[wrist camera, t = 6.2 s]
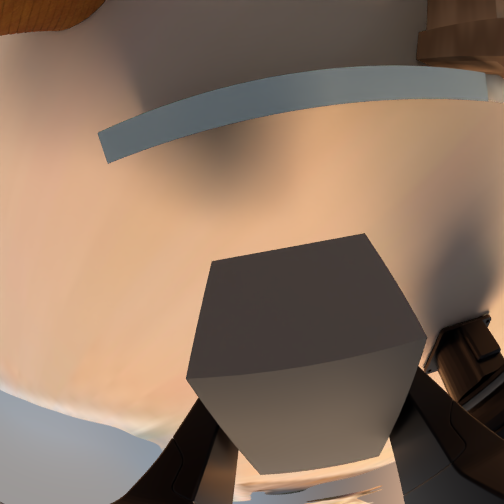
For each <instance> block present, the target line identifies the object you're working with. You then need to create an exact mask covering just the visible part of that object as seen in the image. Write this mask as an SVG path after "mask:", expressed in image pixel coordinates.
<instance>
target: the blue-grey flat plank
mask: <svg viewBox="0 0 504 504" xmlns="http://www.w3.org/2000/svg"><path fill="white" fill-rule="evenodd" d="M397 99H461V100H477V101H488V100H489V101H494V102H498V103H504V79H503V78H502V77H501V76H500V75H495V74H485V73H483V72H477V71H470V70H462V69H453V68H443V67H429V66H402V65H385V66H357V67H343V68H331V69H322V70H313V71H306V72H298V73H292V74H286V75H280V76H274V77H269V78H264V79H259V80H254V81H249V82H245V83H240V84H236V85H232V86H228V87H224V88H220V89H216V90H213V91H209V92H206V93H202V94H199V95H195V96H192V97H189V98H186V99H183V100H179V101H176V102H173V103H170V104H168V105H165V106H162V107H159V108H156V109H154V110H151V111H148V112H146V113H143V114H140V115H138V116H135V117H133V118H130V119H128V120H126V121H123V122H121V123H119V124H116V125H114V126H112V127H109V128H107V129H105V130H103V131H101V132H99V133H98V136H99V139H100V142H101V145H102V148H103V151H104V154H105V157H106V160H107V162H108V164H109V163H111V162H114V161H116V160H119V159H121V158H124V157H126V156H129V155H132V154H134V153H137V152H140V151H143V150H145V149H148V148H151V147H154V146H157V145H160V144H163V143H166V142H169V141H172V140H175V139H179V138H182V137H185V136H188V135H192V134H195V133H199V132H202V131H206V130H209V129H213V128H217V127H221V126H225V125H229V124H233V123H237V122H241V121H245V120H250V119H254V118H259V117H264V116H268V115H274V114H279V113H284V112H290V111H295V110H301V109H308V108H314V107H321V106H329V105H337V104H345V103H355V102H366V101H379V100H397Z"/></svg>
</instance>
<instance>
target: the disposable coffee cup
mask: <svg viewBox="0 0 504 504" xmlns="http://www.w3.org/2000/svg"><path fill="white" fill-rule="evenodd" d="M104 1H105V0H0V36H2V35H7V34H15V33H17V34H18V33H23V32H25V33H26V32H36V31H60V30H65V29H68V28H71V27H73V26H75V25H77V24H79V23H80V22H82V21H83V20H85V19H86V18H88V17H89V16H90V15H91V14H93V13H94V12H95V11H96V10H97V9H98V8H99V7H100V6H101V5H102V4H103V3H104Z"/></svg>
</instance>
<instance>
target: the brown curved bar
mask: <svg viewBox="0 0 504 504" xmlns="http://www.w3.org/2000/svg"><path fill="white" fill-rule="evenodd" d="M416 60H419V61H421V62H423V63H425V64H428V65H430V66H432V67H443V68H453V69H462V70H470V71H477V72H483V73H485V74H495V75H500V76H501V77H502V78H504V0H428V9H427V30H426V31H422V32H419V36H418V47H417V57H416Z"/></svg>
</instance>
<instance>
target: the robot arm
mask: <svg viewBox="0 0 504 504" xmlns="http://www.w3.org/2000/svg"><path fill="white" fill-rule="evenodd" d="M490 321H491V317H490V315H485V316H482V317H479V318H476V319H473V320H470V321H467V322H464V323H460V324H457V325H453V326H450V327H446V328H444V329H443V330H442V331H441V332H440V334H439V337H438V339H437V341H436V344H435V346H434V349H433V351H432V353H431V355H430V358H429V360H428V362H427V364H426V366H425V369H424V371H425V372H424V371H423V370H422V369H421V368H420V367H419V366H418V368H417V371H416V373H415V376H414V379H413V382H412V384H411V387H410V390H409V392H408V395H407V397H406V400H405V402H404V404H403V407H402V409H401V411H400V414H399V416H398V418H397V421H396V423H395V425H394V427H393V429H392V431H391V433H390V435H389V438H390V441H391V445H392V449H393V453H394V457H395V461H396V465H397V469H398V473H399V478H400V482H401V487H402V491H403V495H404V501H405V504H504V358H503V356H502V354H501V353H500V351H501V348H500V346H499V345H498V343H497V342H496V340H495V339H494V337H493V335H492V334H491V332H490V331H489V329H488V328H487V327H488V325H489V323H490ZM435 371H438V372H439V374H440V376H441V379H442V381H443V383H444V385H445V388H446V390H447V392H448V393H447V392H445V391H444V390H443V389H442V388H441V387H440V386H439V385H438V384H437V383H436V382H435V381H434V380H433V379H432V378H431V377H429V376H428V375H427V374H429V373H432V372H435ZM173 438H174V439H173ZM173 438H172V439H171V440H170V442H169V443H168V445H167V446H166V448H165V449H164V451H163V452H162V453H161V455H160V456H159V458H158V459H157V460H156V461H155V462H154V464H153V465H152V466H151V467H150V468H149V469H148V471H147V472H146V473H145V474H144V475H143V476H142V477H141V478H140V479H139V480H138V482H137V483H136V484H135V485H134V486H133V487H132V488H131V489H130V490H129V491H128V492H127V493H126V494H125V495H124V496H123V497H121V498H120V499H118V500H117V501H115V502H113V503H111V504H232V502H233V494H234V485H235V476H236V468H237V459H238V450H239V449H238V448H237V447H236V446H235V444H234V443H233V442H232V441H231V440H230V438H229V437H228V436H227V434H226V433H225V432H224V431H223V429H222V428H221V427H220V426H219V424H218V423H217V422H216V420H215V419H214V418H213V416H212V415H211V414H210V412H209V411H208V410H207V408H206V407H205V405H204V404H203V403H202V401H201V400H200V398H198V399H197V401H196V402H195V404H194V405H193V407H192V408H191V410H190V412H189V413H188V415H187V416H186V418H185V419H184V421H183V422H182V424H181V425H180V427H179V428H178V430H177V431H176V433H175V434H174V436H173ZM0 504H3V503H2V502H0Z"/></svg>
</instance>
